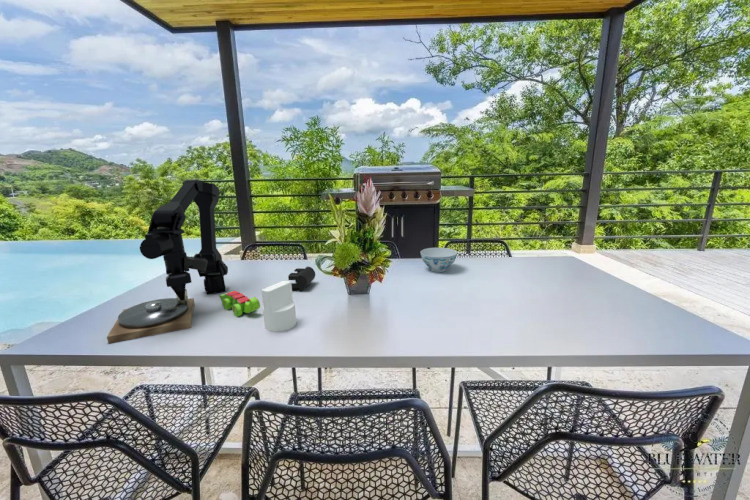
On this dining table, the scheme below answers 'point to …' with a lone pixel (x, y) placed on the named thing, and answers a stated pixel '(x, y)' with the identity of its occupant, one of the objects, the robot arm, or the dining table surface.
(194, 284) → the dining table surface
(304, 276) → the end cap
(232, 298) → the toy crocodile
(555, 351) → the dining table surface
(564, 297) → the dining table surface
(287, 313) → the base with upright slab
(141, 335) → the wheel base
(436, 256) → the chinaware
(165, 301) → the handwheel
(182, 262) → the robot arm
